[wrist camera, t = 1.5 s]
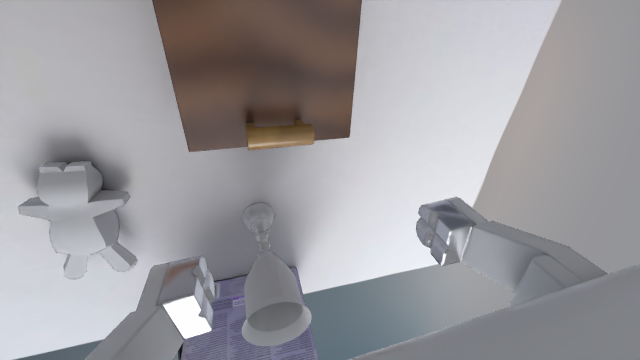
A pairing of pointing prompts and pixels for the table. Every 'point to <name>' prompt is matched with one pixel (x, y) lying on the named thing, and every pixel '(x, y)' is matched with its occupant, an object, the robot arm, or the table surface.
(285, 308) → the chalice
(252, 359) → the cake pan box
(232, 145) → the lid
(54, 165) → the bunny figurine
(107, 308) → the table surface
